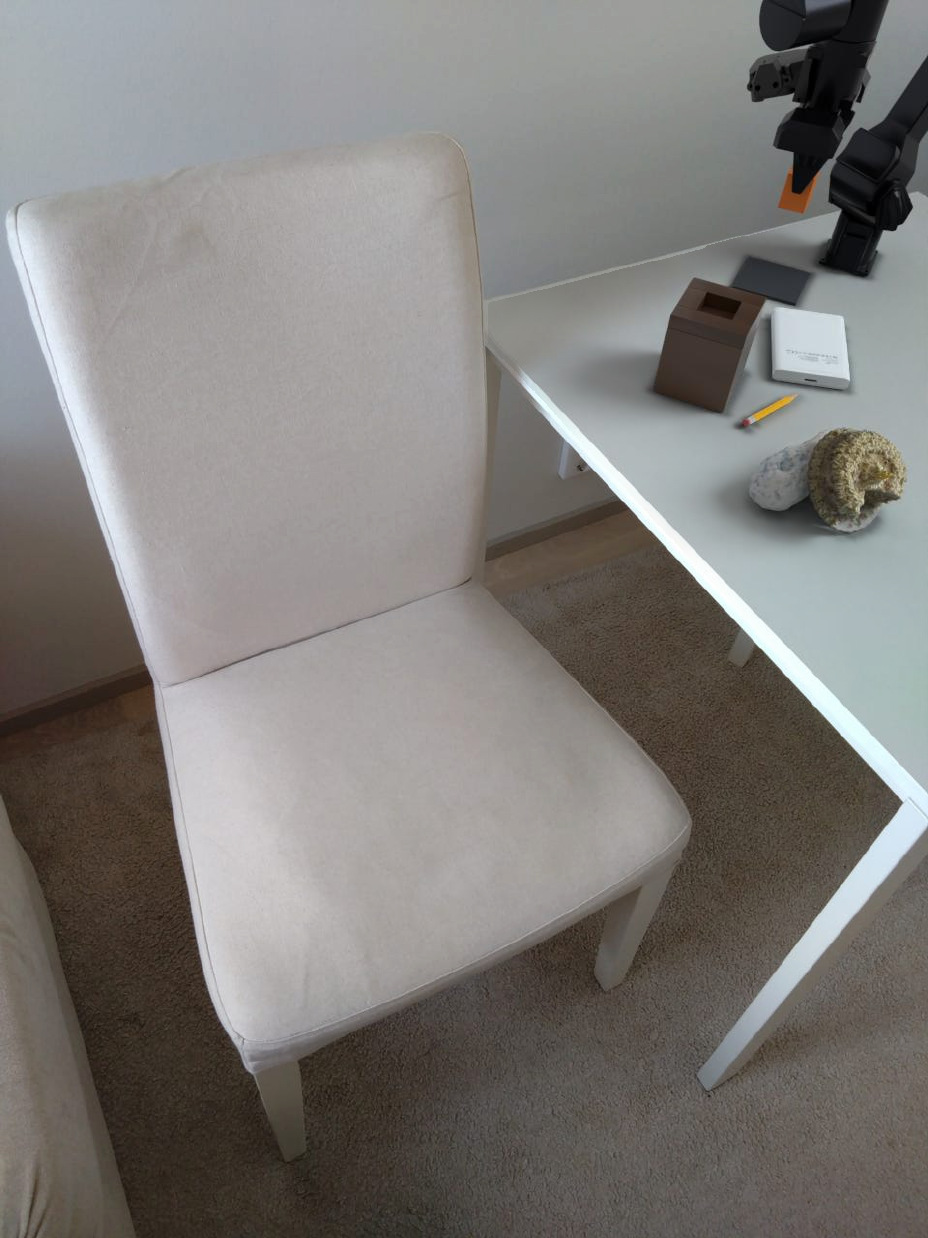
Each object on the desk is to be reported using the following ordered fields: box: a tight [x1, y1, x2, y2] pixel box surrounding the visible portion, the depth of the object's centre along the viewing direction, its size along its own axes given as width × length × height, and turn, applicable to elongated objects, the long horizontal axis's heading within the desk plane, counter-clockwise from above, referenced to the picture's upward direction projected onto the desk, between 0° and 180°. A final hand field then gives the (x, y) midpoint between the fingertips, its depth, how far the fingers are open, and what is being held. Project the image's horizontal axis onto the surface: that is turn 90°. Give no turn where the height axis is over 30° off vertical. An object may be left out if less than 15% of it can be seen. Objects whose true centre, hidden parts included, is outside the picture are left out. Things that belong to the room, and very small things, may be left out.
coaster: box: [731, 255, 811, 306], centre depth 114 cm, size 8×8×1 cm
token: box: [777, 164, 820, 215], centre depth 104 cm, size 3×3×4 cm
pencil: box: [742, 393, 798, 428], centre depth 98 cm, size 1×9×1 cm, turn 128°
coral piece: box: [807, 427, 908, 533], centre depth 84 cm, size 10×10×5 cm
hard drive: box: [770, 306, 851, 390], centre depth 104 cm, size 2×8×12 cm
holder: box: [652, 276, 768, 414], centre depth 97 cm, size 8×8×10 cm
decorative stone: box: [748, 429, 835, 512], centre depth 89 cm, size 13×7×5 cm, turn 124°
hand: (799, 186), depth 104 cm, fingers closed on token, 3 cm apart
